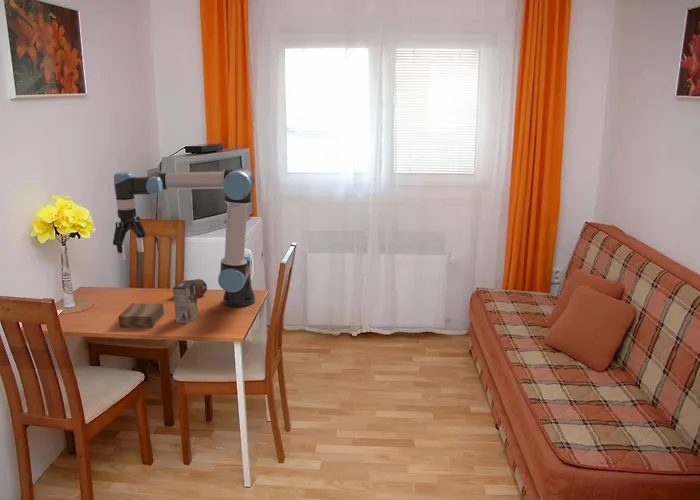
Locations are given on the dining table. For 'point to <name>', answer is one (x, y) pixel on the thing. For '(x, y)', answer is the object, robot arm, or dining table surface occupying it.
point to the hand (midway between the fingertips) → (131, 255)
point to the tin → (198, 286)
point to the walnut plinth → (141, 315)
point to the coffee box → (185, 302)
